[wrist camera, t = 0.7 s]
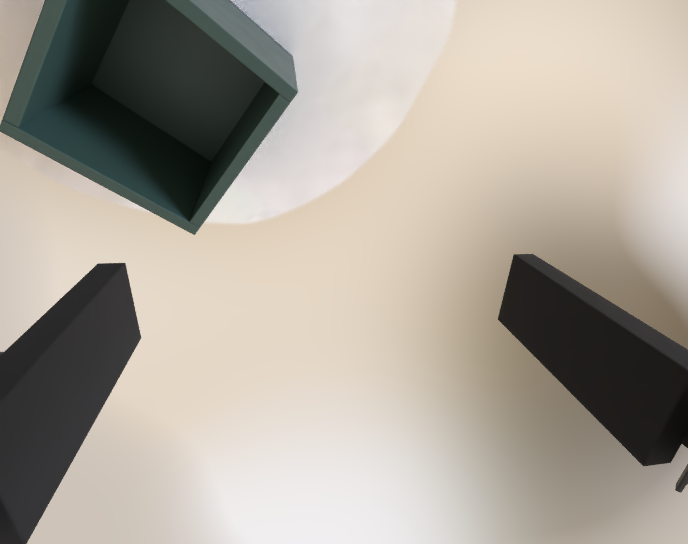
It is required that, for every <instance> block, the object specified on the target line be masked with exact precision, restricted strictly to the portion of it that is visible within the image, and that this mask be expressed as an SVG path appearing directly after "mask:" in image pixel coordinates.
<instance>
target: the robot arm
mask: <svg viewBox="0 0 688 544" xmlns="http://www.w3.org/2000/svg"><path fill="white" fill-rule="evenodd" d="M498 320H499V321H500V322H501V323H502V324H503V325H504V326H505V327H506V328H507V329H508V330H509V331H510V332H511V333H512V334H513V335H514V336H515V337H516V338H517V339H518V340H519V341H520V342H521V343H522V344H523V345H524V346H525V347H526V348H527V349H528V350H529V351H530V352H531V353H532V354H533V355H534V356H535V357H536V358H537V359H538V360H539V361H540V362H541V363H542V364H543V365H544V366H545V367H546V368H547V369H548V370H549V371H550V372H551V373H552V374H553V375H554V376H555V377H556V378H557V379H558V380H559V381H560V382H561V383H562V384H563V385H564V386H565V387H566V389H568V390H569V391H570V393H571V394H572V395H573V396H574V397H576V398H577V400H578V401H579V402H580V403H581V404H582V405H584V407H585V408H586V409H587V410H588V411H589V412H590V413H591V414H592V415H593V416H594V417H595V418H596V419H597V420H598V421H599V422H600V423H601V424H602V425H603V426H604V427H605V428H606V429H607V430H608V431H609V432H610V433H611V434H612V435H613V436H614V437H615V438H616V439H617V440H618V441H619V442H620V443H621V444H622V445H623V446H624V447H625V448H626V449H627V450H628V451H629V452H630V453H631V454H632V455H633V456H634V457H635V458H636V459H637V460H638V461H639V462H640V463H641V464H642V465H643V466H648V465H656V464H664V463H670V462H671V461H672V459H673V458H674V456H675V454H676V452H677V450H678V449H679V447H680V445H681V444H683V445H684V446H686V447H687V448H688V350H687V349H686V348H684V347H683V346H681V345H679V344H678V343H676V342H674V341H673V340H671V339H670V338H668V337H666V336H665V335H663V334H661V333H660V332H658V331H657V330H655V329H653V328H652V327H650V326H648V325H647V324H645V323H644V322H642V321H640V320H639V319H637V318H635V317H634V316H632V315H631V314H629V313H627V312H626V311H624V310H623V309H621V308H619V307H618V306H616V305H615V304H613V303H611V302H610V301H608V300H606V299H605V298H603V297H602V296H600V295H598V294H597V293H595V292H593V291H592V290H590V289H589V288H587V287H585V286H584V285H582V284H580V283H579V282H577V281H576V280H574V279H572V278H571V277H569V276H568V275H566V274H564V273H563V272H561V271H559V270H558V269H556V268H554V267H553V266H551V265H550V264H548V263H546V262H545V261H543V260H542V259H540V258H538V257H536V256H535V255H533V254H519V255H518V254H517V255H514V256H513V260H512V264H511V268H510V272H509V276H508V280H507V285H506V288H505V292H504V296H503V301H502V305H501V309H500V313H499V317H498ZM140 339H141V335H140V330H139V326H138V321H137V316H136V312H135V307H134V302H133V297H132V293H131V288H130V283H129V279H128V274H127V269H126V265H125V263H108V264H107V263H106V264H97V265H96V266H95V267H94V268H93V269H92V270H91V271H90V272H89V273H88V274H87V275H86V276H85V277H83V278H82V279H81V280H80V281H79V282H78V283H77V284H76V285H75V286H74V287H73V288H72V289H71V290H70V291H69V292H67V293H66V294H65V295H64V296H63V297H62V298H61V299H60V300H59V301H58V302H57V303H56V304H55V305H54V306H53V307H52V308H51V309H49V310H48V311H47V312H46V313H45V314H44V315H43V316H42V317H41V318H40V319H39V320H38V321H37V322H36V323H35V324H34V325H32V326H31V328H30V329H28V330H27V331H26V332H25V333H24V334H23V335H22V336H21V337H20V338H19V339H18V340H17V341H16V342H14V343H13V344H12V345H11V346H10V347H9V348H8V349H7V350H6V351H5V352H0V544H26V543H27V542H28V540H29V538H30V536H31V534H32V533H33V531H34V529H35V527H36V526H37V524H38V522H39V520H40V518H41V517H42V515H43V513H44V511H45V509H46V507H47V505H48V504H49V502H50V500H51V499H52V497H53V495H54V493H55V491H56V490H57V488H58V486H59V484H60V483H61V481H62V479H63V477H64V475H65V474H66V472H67V470H68V468H69V466H70V464H71V463H72V461H73V459H74V457H75V456H76V454H77V452H78V450H79V448H80V447H81V445H82V443H83V441H84V439H85V438H86V436H87V434H88V432H89V430H90V428H91V427H92V425H93V423H94V422H95V419H96V418H97V416H98V414H99V412H100V411H101V409H102V407H103V405H104V404H105V402H106V400H107V398H108V396H109V395H110V393H111V391H112V389H113V387H114V386H115V384H116V382H117V380H118V378H119V377H120V375H121V373H122V371H123V370H124V368H125V366H126V364H127V362H128V360H129V359H130V357H131V355H132V353H133V352H134V350H135V348H136V346H137V344H138V343H139V341H140ZM687 484H688V465H687V466H686V468H685V470H684V471H683V473H682V475H681V476H680V478H679V480H678V481H677V483H676V489H675V490H676V491H678V492H682V490H683V489H684V487H685V486H686V485H687Z"/></svg>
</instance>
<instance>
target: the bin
mask: <svg viewBox="0 0 688 544" xmlns="http://www.w3.org/2000/svg"><path fill="white" fill-rule="evenodd" d="M297 93H298V90H297V83H296V75H295V68H294V61H293V56H292V55H290V54H289V53H288V52H287V51H286V50H285V49H284V48H283V47H282V46H280V45H279V44H278V43H277V42H276V41H275V40H274V39H273V38H271V37H270V36H269V35H268V34H267V33H266V32H265V31H264V30H263V29H261V28H260V27H259V26H258V25H257V24H256V23H255V22H254V21H252V20H251V19H250V18H249V17H248V16H247V15H246V14H245V13H244V12H242V11H241V10H240V9H239V8H238V7H237V6H236V5H235V4H234V3H232V2H231V1H230V0H45V2H44V5H43V8H42V10H41V13H40V16H39V19H38V22H37V24H36V27H35V30H34V33H33V36H32V38H31V41H30V44H29V47H28V50H27V52H26V55H25V58H24V61H23V64H22V66H21V69H20V72H19V75H18V78H17V80H16V83H15V86H14V89H13V91H12V94H11V97H10V100H9V103H8V105H7V108H6V111H5V114H4V117H3V120H2V122H1V125H0V132H2V133H4V134H6V135H8V136H10V137H12V138H14V139H15V140H17V141H19V142H21V143H23V144H25V145H27V146H29V147H30V148H32V149H34V150H36V151H38V152H40V153H42V154H44V155H45V156H47V157H49V158H51V159H53V160H55V161H57V162H59V163H60V164H62V165H64V166H66V167H68V168H70V169H72V170H74V171H75V172H77V173H79V174H81V175H83V176H85V177H87V178H89V179H90V180H92V181H94V182H96V183H98V184H100V185H102V186H104V187H105V188H107V189H109V190H111V191H113V192H115V193H117V194H119V195H120V196H122V197H124V198H126V199H128V200H130V201H132V202H134V203H135V204H137V205H139V206H141V207H143V208H145V209H147V210H149V211H150V212H152V213H154V214H156V215H158V216H160V217H162V218H164V219H166V220H167V221H169V222H171V223H173V224H175V225H177V226H179V227H181V228H182V229H184V230H186V231H188V232H190V233H192V234H194V235H195V234H196V232H197V231H198V230H199V228H200V227H201V225H202V224H203V223H204V221H205V220H206V219H207V217H208V216H209V214H210V213H211V212H212V210H213V209H214V207H215V206H216V205H217V203H218V202H219V201H220V199H221V198H222V196H223V195H224V194H225V192H226V191H227V189H228V188H229V187H230V185H231V184H232V183H233V181H234V180H235V178H236V177H237V176H238V174H239V173H240V171H241V170H242V169H243V167H244V166H245V165H246V163H247V162H248V160H249V159H250V158H251V156H252V155H253V153H254V152H255V151H256V149H257V148H258V147H259V145H260V144H261V142H262V141H263V140H264V138H265V137H266V135H267V134H268V133H269V131H270V130H271V129H272V127H273V126H274V124H275V123H276V122H277V120H278V119H279V117H280V116H281V115H282V113H283V112H284V111H285V109H286V108H287V106H288V105H289V104H290V102H291V101H292V100H293V98H294V97H295V95H296V94H297Z"/></svg>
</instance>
